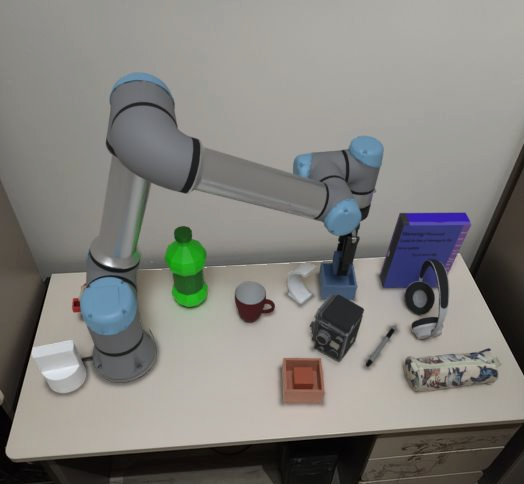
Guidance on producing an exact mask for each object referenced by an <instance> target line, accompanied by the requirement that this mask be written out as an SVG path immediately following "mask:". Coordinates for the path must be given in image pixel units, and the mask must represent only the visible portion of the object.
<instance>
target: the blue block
mask: <svg viewBox="0 0 524 484" xmlns="http://www.w3.org/2000/svg"><path fill="white" fill-rule="evenodd" d="M339 257H342V251H337V250H334V251H333V255H332V262H331V263H332V265H333V272H334V274H337V270H338V265H339ZM351 269H352V264H350V265H349V269H348V273H347V274H350V273H351Z"/></svg>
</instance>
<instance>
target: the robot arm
mask: <svg viewBox="0 0 524 484" xmlns="http://www.w3.org/2000/svg"><path fill="white" fill-rule="evenodd" d="M174 99H175V98H174V97H173V95H172V92H171V89H170V88H169V87H168V86H167V84H166V83H165V82H164V81H162V79H160V78H159V77H157V76H156V75H154V74H151V73H147V72H139V71H138V72H130V73H128V74H125V75H124V76H122V77H120V78H119V79H117V80H116V82H115V83H114V84H113V86H112V89H111V91H110V94H109V99H108V101H109V105H110V107H109V109H110V110H109V117H108V124H107V131H106V137H105V147H106V150H107V151H108V153H109V154H110V155H111V159H110V166H109V171H108V178H107V185H106V191H105V196H104V202H103V208H102V216H101V221H100V227H99V233H98V235H97V236H96V237H94V238H93V239H92V240H91V242H90V245H89V248H88V251H87V254H86V257H85V266H86V273H85V274H86V277H85V283H86V289H85V290H84V291H83V293H82V296H81V299H80V308H81V312H80V314H81V317H82V320H83V321H84V324H85V325H86V327H87V328H86V329H87V330H88V333H89V335H90V338H91V340H92V342H93V349H92V355H90V356H86V357H80V358H81V360H82V362H85V361H86V362H87V361H89V360H92V363H93V366H94V368H95V370H96V372H97V373H98V375H99V376H101V378H103V379H104V380H107V381H109V382H113V383H129V382H132V381H135V380H137V379H139V378H141V377H143V376H144V375H146V374H147V373H148V372H149V370H151V368H152V367H153V366H154V363H155V361H156V359H157V349H156V345H155V342H154V340H155V337H154V335H153V333H152V331H151V329H150V328H148V330H149V332H150V335H149V334H148V333H147V332H146V330H144V328H143V324H142V319H141V315H140V311H139V295H138V279H137V277H138V271H139V267H140V263H141V258H142V249H141V248H140V246H139V244H138V243H139V238H140V234H141V230H142V226H143V222H144V218H145V214H146V209H147V204H148V201H149V197H150V192H151V189H152V185H155V186H158V187H161V188H163V189H167V190H169V191H173V192H177V193H182V194H186V195H188V194H190V193H191V192H193V191H198V192H202V193H206V194H210V195H213V196H218V197H221V198H226V199H229V200H233V201H238V202H242V203H246V204H249V205H254V206H258V207H262V208H266V209H271V210H274V211H278V212H282V213H286V214H290V215H293V216H298V217H302V218H306V219H311V220H314V221H317V222H322V223H323V226H324V228H325V229H326V230H327V232H328V233H329V234H331V235H333V236H337V237H338V238H337V241H338V242H337V248H336V251H342V257H339V265H338V270H337V276H347V273H348V269H349V265H350V264H353V265H354V260H355V255H356V252H357V248H358V244H359V242H360V239H361V238H360V236H358V234H359V230H360V227H361V222H363V221H364V220H366V219H367V218H368V216H369V214H370V209H371V205H372V202H373V201H372V200H373V196H374V194H375V193H377V189H376V186H377V181H378V178H379V174H380V169H381V167H382V165H383V159H384V151H385V148H384V144H383V143H382V142H381V141H380V140H379V139H377V138H376V137H374V136H369V135H359V136H357V137H354V138H353V139H352V140H350V143H349V145H348V148H347V149H346V148H345V149H340V150H327V151H326V150H325V151H315V152H313V151H312V152H309V153H302V154H298V155H296V156H295V157H294V160H293V163H292V172H289V171H286V170H282V169H279V168H275V167H272V166H270V165H269V166H268V165H265V164H262V163H259V162H256V161H252V160H248V159H245V158H242V157H240V156H239V157H238V156H236V155H232V154H229V153H226V152H222V151H219V150H215V149H212V148H208V147H206V146H204V145H203V143H202V141H201V139H199V138H196V137H193V136H190V135H187V134H186V133H184V132H182V131H181V130H180V129H179V128H178V127H179V125H178V122H177V116H176V110H175V109H176V103H175V100H174Z"/></svg>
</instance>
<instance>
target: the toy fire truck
mask: <svg viewBox="0 0 524 484" xmlns="http://www.w3.org/2000/svg"><path fill="white" fill-rule="evenodd" d="M85 289H86V282H85V283H84V284H83V285H80V293H79V296H78V297H74V298H72V304H71V310H72V312H73V313H81V308H80V299H81V296H82V293H83V291H84V290H85Z"/></svg>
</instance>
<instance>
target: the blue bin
mask: <svg viewBox="0 0 524 484" xmlns="http://www.w3.org/2000/svg"><path fill="white" fill-rule="evenodd" d="M318 281H319V289H320V290H319V291H320V298H321V300H326V299H327V298H328V297H329V296H330V294H336V295H341V296H343V297H344V298H346V299H348V300H350V301H351V300H353V301H354V300H355V297H356V294H357V291H358V282H357V277H356V272H355V266H354V263H353V264H352V269H351V273H350V274H347V276H337V274H334V272H333V265H332V262H320V267H319V272H318Z"/></svg>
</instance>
